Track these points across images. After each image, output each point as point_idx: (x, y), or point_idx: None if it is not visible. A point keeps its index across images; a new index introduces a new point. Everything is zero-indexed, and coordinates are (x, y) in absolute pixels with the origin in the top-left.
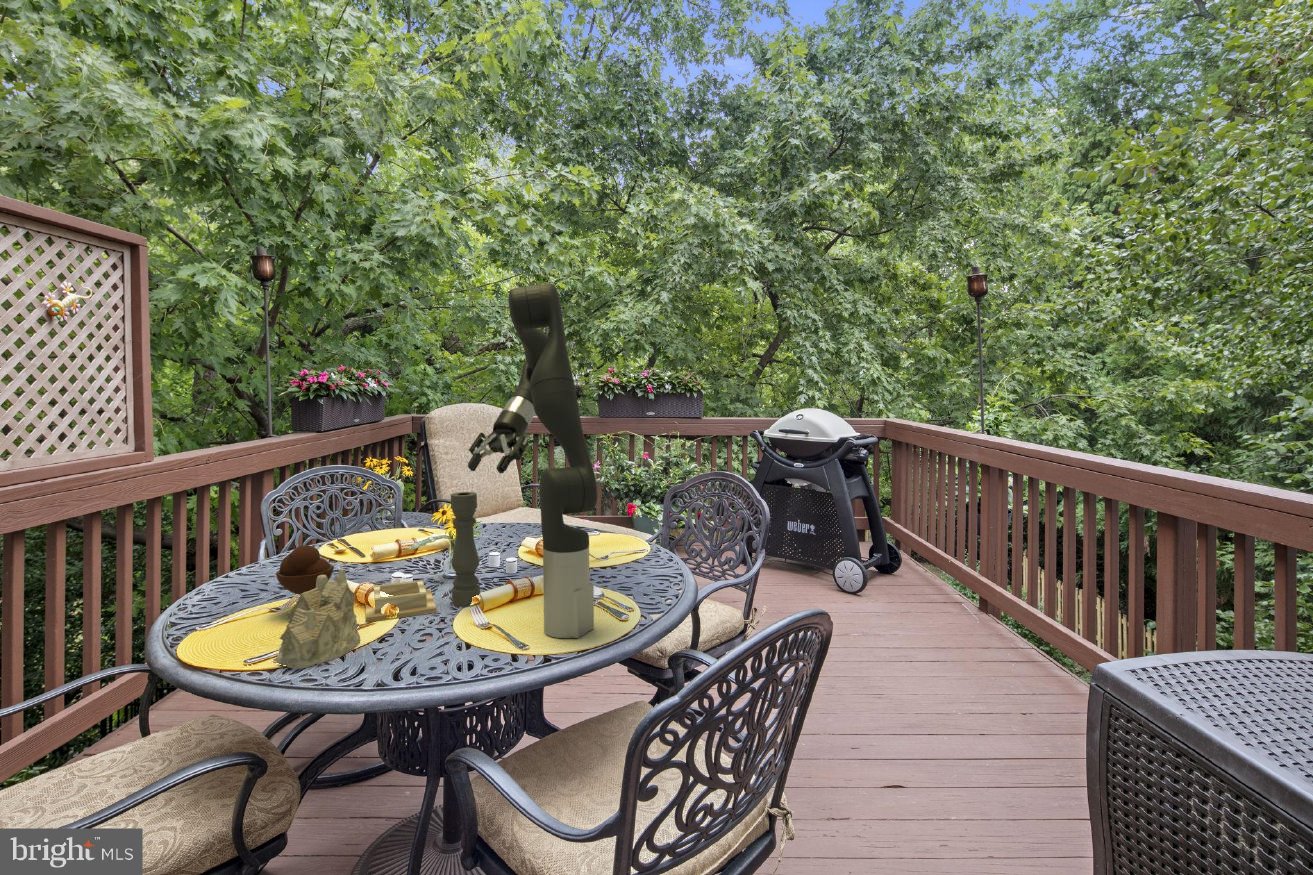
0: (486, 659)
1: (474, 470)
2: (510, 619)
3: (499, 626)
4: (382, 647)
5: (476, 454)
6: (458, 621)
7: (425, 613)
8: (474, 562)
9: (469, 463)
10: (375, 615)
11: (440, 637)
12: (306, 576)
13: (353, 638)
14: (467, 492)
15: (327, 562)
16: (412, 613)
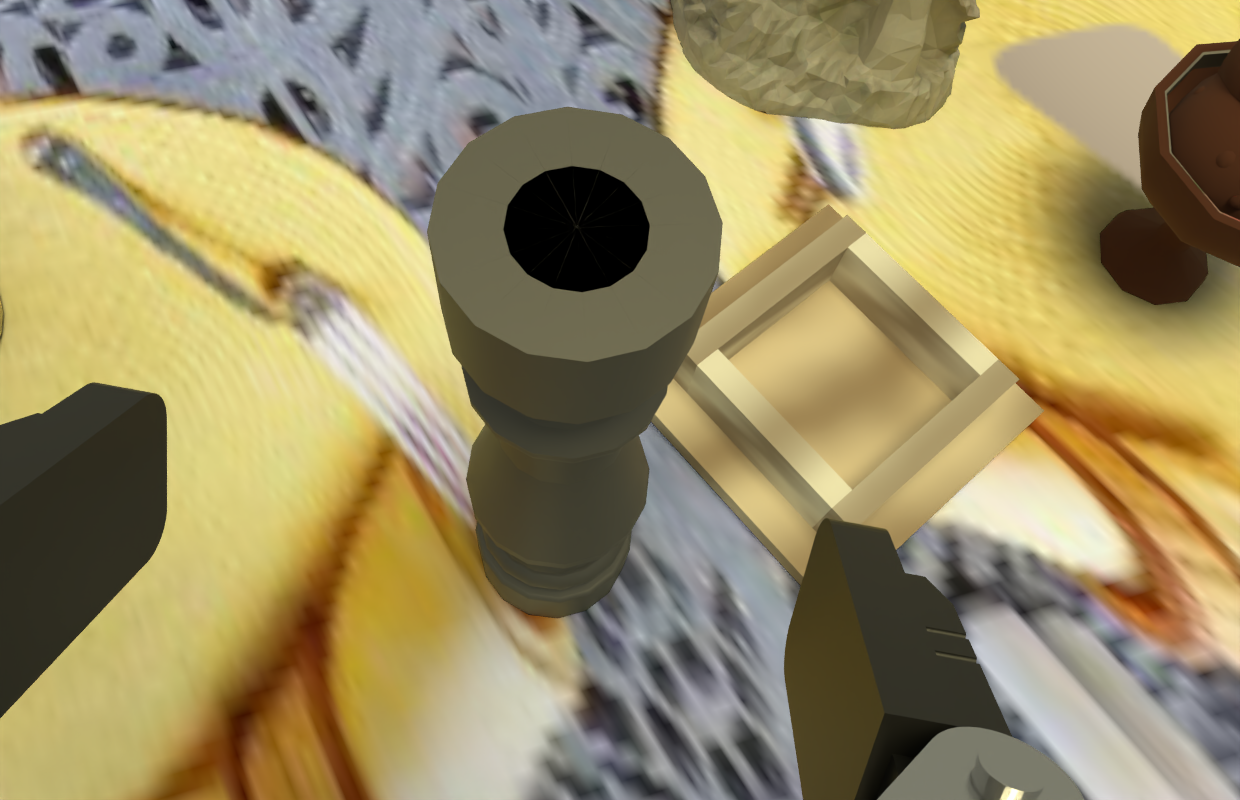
0: (157, 41)
1: (786, 657)
2: (214, 387)
3: (233, 304)
4: (585, 50)
5: (888, 704)
6: None
7: None
8: (472, 446)
9: (880, 545)
10: (810, 232)
11: (429, 158)
12: (1172, 70)
13: (686, 6)
14: (594, 324)
15: (1220, 158)
16: None
